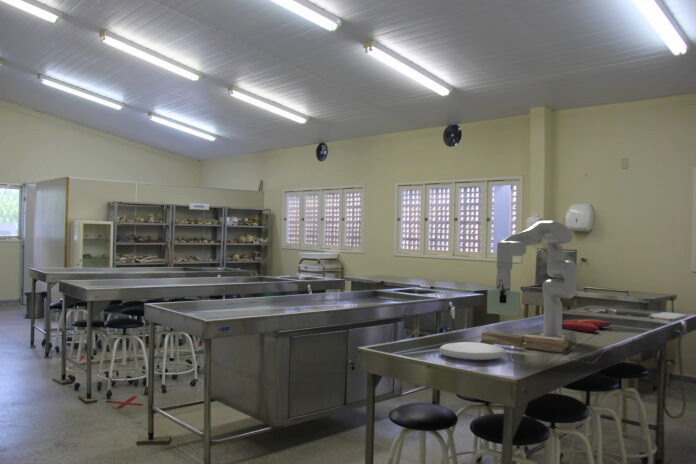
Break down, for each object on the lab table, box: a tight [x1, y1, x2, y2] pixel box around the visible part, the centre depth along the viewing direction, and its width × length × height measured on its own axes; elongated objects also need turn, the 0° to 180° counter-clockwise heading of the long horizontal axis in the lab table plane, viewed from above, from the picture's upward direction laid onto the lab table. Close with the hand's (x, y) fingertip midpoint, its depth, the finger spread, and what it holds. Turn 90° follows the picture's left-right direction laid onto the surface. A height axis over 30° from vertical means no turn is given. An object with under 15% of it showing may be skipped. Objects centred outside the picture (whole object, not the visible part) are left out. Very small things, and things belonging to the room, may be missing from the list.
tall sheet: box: [486, 288, 521, 317], centre depth 266 cm, size 2×16×12 cm, turn 57°
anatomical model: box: [562, 318, 612, 333], centre depth 326 cm, size 30×7×30 cm
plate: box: [439, 341, 507, 361], centre depth 234 cm, size 28×6×27 cm
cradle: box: [479, 331, 526, 347], centre depth 265 cm, size 10×20×5 cm, turn 57°
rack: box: [522, 333, 573, 354], centre depth 254 cm, size 14×20×7 cm
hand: (503, 302), depth 266 cm, fingers closed on tall sheet, 2 cm apart
